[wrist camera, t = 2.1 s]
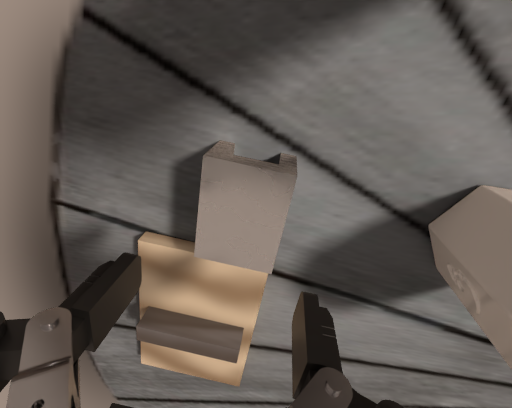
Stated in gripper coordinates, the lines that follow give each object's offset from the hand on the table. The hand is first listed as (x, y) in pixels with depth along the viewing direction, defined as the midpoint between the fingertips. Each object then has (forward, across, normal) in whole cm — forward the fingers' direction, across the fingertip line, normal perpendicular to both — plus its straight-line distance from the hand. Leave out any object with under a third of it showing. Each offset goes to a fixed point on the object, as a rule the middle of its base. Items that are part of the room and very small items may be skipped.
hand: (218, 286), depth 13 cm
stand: (+11, +3, +14) cm, 18 cm away
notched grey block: (+11, 0, 0) cm, 11 cm away
